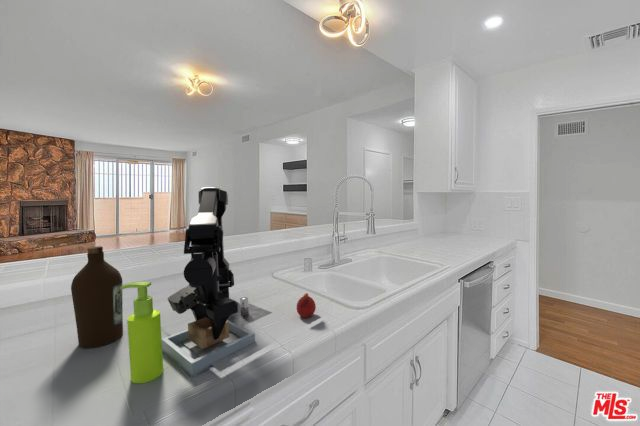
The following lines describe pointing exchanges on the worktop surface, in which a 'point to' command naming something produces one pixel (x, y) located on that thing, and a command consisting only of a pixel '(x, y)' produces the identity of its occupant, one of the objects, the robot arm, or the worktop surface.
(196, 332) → the open wooden box frame
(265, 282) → the worktop surface
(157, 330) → the soap dispenser
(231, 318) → the stake base
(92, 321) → the olive oil
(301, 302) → the onion
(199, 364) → the light blue frame
